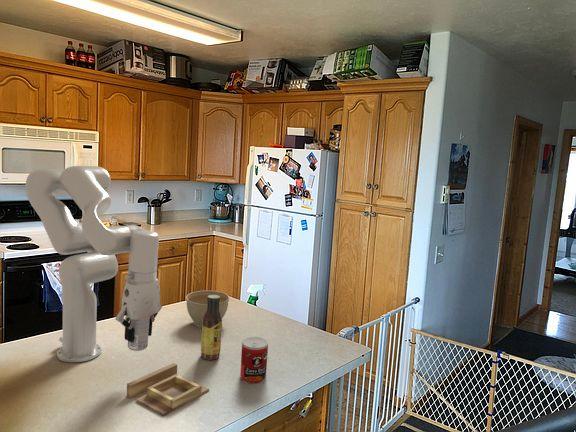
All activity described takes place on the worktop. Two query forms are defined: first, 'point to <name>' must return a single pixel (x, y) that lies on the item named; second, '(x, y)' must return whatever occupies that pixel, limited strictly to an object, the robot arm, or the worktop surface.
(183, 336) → the worktop surface
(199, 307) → the planter bowl
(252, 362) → the canned food
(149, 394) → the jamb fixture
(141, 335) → the energy drink
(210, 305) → the sauce bottle
